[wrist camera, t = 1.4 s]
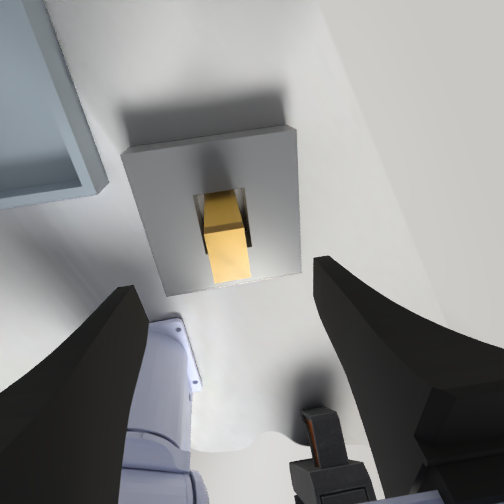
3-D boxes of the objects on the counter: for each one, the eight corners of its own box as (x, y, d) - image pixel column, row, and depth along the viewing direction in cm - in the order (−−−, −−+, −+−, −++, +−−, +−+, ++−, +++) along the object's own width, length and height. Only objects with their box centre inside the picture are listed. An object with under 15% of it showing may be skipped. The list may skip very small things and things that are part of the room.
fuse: (238, 225, 22) (251, 277, 16) (212, 229, 22) (214, 283, 16) (232, 186, 21) (244, 227, 15) (204, 190, 21) (203, 234, 15)
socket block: (293, 256, 24) (301, 273, 22) (170, 277, 24) (166, 296, 21) (286, 124, 19) (296, 129, 17) (130, 146, 19) (120, 154, 16)
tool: (353, 400, 30) (415, 618, 23) (314, 410, 47) (343, 538, 39) (294, 409, 30) (338, 636, 22) (276, 416, 46) (297, 547, 38)
